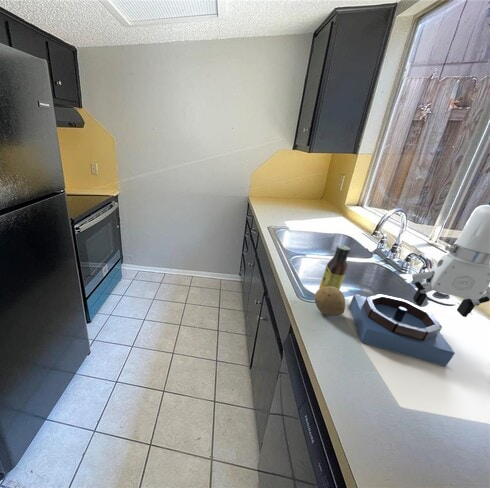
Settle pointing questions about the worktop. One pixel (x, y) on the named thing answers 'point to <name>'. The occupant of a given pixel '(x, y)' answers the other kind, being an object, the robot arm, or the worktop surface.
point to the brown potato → (330, 301)
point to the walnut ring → (400, 328)
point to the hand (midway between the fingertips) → (438, 308)
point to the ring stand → (379, 336)
